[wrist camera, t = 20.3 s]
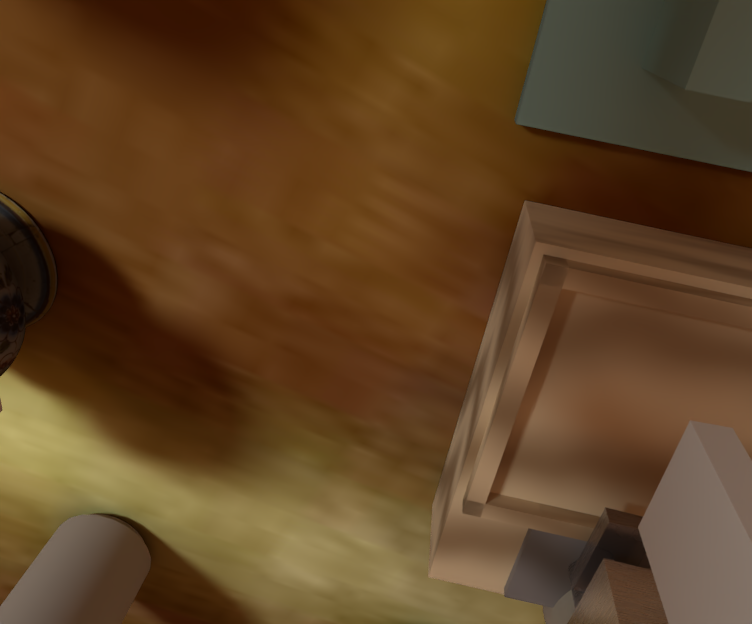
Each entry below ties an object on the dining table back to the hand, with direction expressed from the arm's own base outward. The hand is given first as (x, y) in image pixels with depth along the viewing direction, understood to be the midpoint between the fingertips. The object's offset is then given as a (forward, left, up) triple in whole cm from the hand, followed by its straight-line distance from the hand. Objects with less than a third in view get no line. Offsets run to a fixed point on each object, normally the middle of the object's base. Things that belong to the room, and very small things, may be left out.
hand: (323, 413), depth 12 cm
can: (+35, -17, -24) cm, 45 cm away
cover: (-8, +11, -24) cm, 28 cm away
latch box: (+13, +14, -24) cm, 31 cm away
